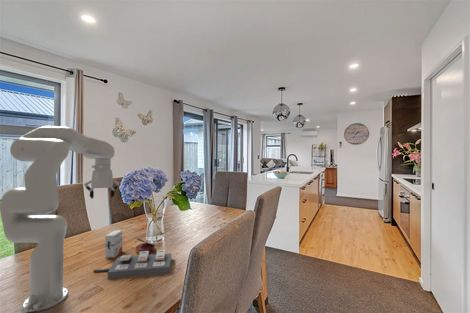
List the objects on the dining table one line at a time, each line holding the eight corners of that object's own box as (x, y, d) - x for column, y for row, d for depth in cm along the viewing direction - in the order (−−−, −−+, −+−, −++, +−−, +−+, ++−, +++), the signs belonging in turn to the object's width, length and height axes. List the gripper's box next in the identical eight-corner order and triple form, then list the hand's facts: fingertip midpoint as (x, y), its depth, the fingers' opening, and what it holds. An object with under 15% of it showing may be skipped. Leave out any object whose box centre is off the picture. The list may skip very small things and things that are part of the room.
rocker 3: (164, 259, 106) (164, 257, 106) (155, 260, 105) (155, 258, 105) (165, 251, 112) (165, 249, 111) (157, 252, 111) (157, 250, 110)
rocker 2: (146, 261, 104) (146, 258, 104) (137, 261, 103) (137, 259, 103) (148, 253, 110) (148, 250, 110) (140, 253, 109) (140, 251, 109)
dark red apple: (137, 258, 124) (136, 240, 128) (155, 254, 127) (154, 236, 131) (134, 257, 114) (133, 237, 118) (155, 252, 118) (153, 233, 122)
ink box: (113, 250, 122) (114, 229, 122) (122, 250, 122) (122, 230, 122) (104, 257, 114) (105, 235, 114) (113, 258, 114) (114, 235, 114)
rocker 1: (128, 260, 102) (128, 257, 102) (119, 260, 101) (119, 257, 102) (131, 257, 108) (131, 254, 108) (122, 257, 107) (123, 254, 107)
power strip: (169, 273, 100) (169, 266, 100) (87, 280, 93) (87, 273, 93) (171, 258, 114) (171, 252, 114) (99, 264, 107) (100, 257, 107)
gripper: (82, 168, 115) (82, 200, 115) (119, 167, 122) (119, 198, 122) (86, 167, 122) (85, 197, 122) (120, 167, 129) (120, 195, 129)
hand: (102, 197), depth 122 cm, fingers open, 9 cm apart
